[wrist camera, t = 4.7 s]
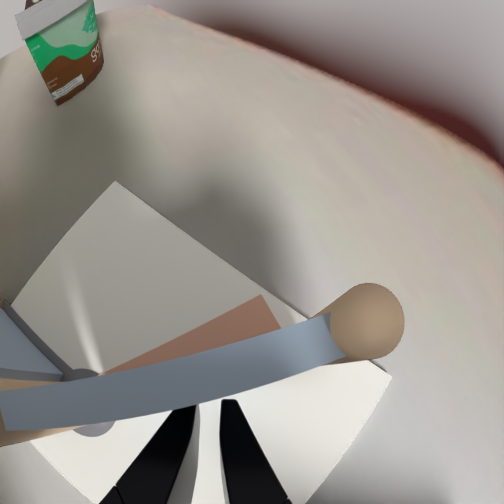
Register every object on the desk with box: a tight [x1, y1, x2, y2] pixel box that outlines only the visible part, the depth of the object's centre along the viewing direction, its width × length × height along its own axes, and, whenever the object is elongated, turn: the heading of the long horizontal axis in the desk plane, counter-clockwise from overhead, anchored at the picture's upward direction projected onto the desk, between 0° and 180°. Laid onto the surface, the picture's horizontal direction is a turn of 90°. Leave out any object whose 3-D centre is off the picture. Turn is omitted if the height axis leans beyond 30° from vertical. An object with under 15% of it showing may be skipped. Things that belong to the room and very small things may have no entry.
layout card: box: [3, 181, 392, 504], centre depth 14 cm, size 15×20×1 cm
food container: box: [15, 0, 104, 106], centre depth 18 cm, size 12×6×10 cm, turn 27°
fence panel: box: [0, 283, 404, 431], centre depth 10 cm, size 10×2×9 cm, turn 107°
